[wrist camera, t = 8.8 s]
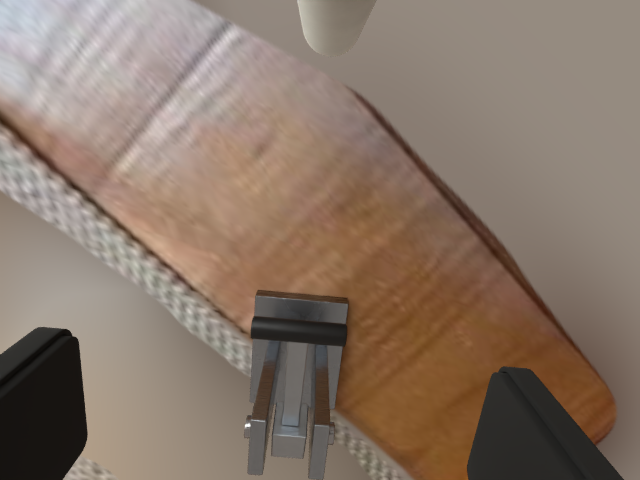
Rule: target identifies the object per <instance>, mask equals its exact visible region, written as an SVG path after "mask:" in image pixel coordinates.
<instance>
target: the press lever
mask: <svg viewBox="0 0 640 480" xmlns="http://www.w3.org/2000/svg"><path fill="white" fill-rule="evenodd" d="M251 338H252V339H260V340H272V341H283V342H288V346H287V360H286V374H285V389H284V402H278V401H277V402H276V410H275V417H274V425H273V433H272V451H271V456H274V457H287V458H300V459H303V457H304V451H305V443H306V436H307V419H308V404H303V403H301V402H302V394H303V385H304V377H305V368H306V360H307V351H308V344H318V345H330V346H342V347H344V346H345V344H346V338H347V326H346V324H342V323H331V322H319V321H308V320H297V319H285V318H274V317H262V316H254V317H253V320H252V325H251Z"/></svg>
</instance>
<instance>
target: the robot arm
mask: <svg viewBox="0 0 640 480" xmlns="http://www.w3.org/2000/svg"><path fill="white" fill-rule="evenodd" d="M86 441H87V423H86V413H85V402H84V392H83V381H82V371H81V360H80V350H79V342H78V339H77V338H76V337H73V336H72V334H71V332H70V331H69V330H67V329H59V328H47V327H38V328H37V329H34V330H33V331H31V332H30V333H29V334H27V335H26V336H25V337H23V338H22V339H21V340H19V341H18V342H17V343H15V344H14V345H13V346H11V347H10V348H9V349H7V350H6V351H5V352H4V353H2V354H0V480H63V478H64V477H65V475H66V474H67V473H68V471H69V470H70V468H71V467H72V465H73V464H74V463H75V461H76V460H77V458H78V457H79V456H80V454H81V453H82V451H83V449H84V447H85V444H86ZM467 473H468V479H469V480H624V479H623V478H622V477H621V476H620V475H619V473H618V472H617V471H616V470H615V469H614V467H613V466H612V465H611V464H610V463H609V461H608V460H607V459H606V458H605V457H604V456H603V454H602V453H601V452H600V451H599V450H598V448H597V447H596V446H595V445H594V444H593V442H592V441H591V440H590V439H589V438H588V437H587V435H586V434H585V433H584V432H583V431H582V429H581V428H580V427H579V426H578V425H577V423H576V422H575V421H574V420H573V419H572V418H571V416H570V415H569V414H568V413H567V412H566V410H565V409H564V408H563V407H562V406H561V404H560V403H559V402H558V401H557V400H556V399H555V397H554V396H553V395H552V394H551V393H550V391H549V390H548V389H547V388H546V387H545V385H544V384H543V383H542V382H541V381H540V380H539V378H538V377H537V376H536V375H535V374H534V372H532V371H531V370H530V369H527V368H515V367H501V368H500V370H499V371H498V373H497V372H495V373H493V374H492V376H491V378H490V382H489V386H488V389H487V393H486V397H485V401H484V404H483V408H482V412H481V415H480V419H479V423H478V427H477V430H476V434H475V438H474V441H473V445H472V449H471V453H470V456H469V460H468V465H467Z"/></svg>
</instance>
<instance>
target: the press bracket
mask: <svg viewBox="0 0 640 480" xmlns="http://www.w3.org/2000/svg"><path fill="white" fill-rule="evenodd" d="M347 311H348V299H347V298H340V297H329V296H318V295H306V294H295V293H284V292H273V291H262V290H258V291H257V293H256V296H255V314H254V316H262V317H274V318H285V319H297V320H308V321H319V322H331V323H342V324H346V319H347ZM287 346H288V342H283V341H272V340H260V339H253V350H252V368H251V387H250V402H253V403H254V407H253V412H252V416H251V415H248V416H247V418H246V423H245V430H244V437H245V438H249V456H248V474H250V475H262V474H263V469H264V463H265V457H266V450H267V444H268V438H269V431H270V425H271V419H272V413H273V406H274V404H276V402H277V401H278V402H284V389H285V374H286V360H287ZM342 349H343V347H342V346H330V345H318V344H308V351H307V360H306V368H305V377H304V385H303V394H302V402H301V403H303V404H308V407H310V439H309V473H308V475H309V476H308V478H309V479H317V480H323V478H324V470H325V462H326V455H327V447H328V445H332V444H333V443H334V434H335V425H334V422H330V409H335V401H336V394H337V386H338V379H339V371H340V364H341V356H342Z"/></svg>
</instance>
